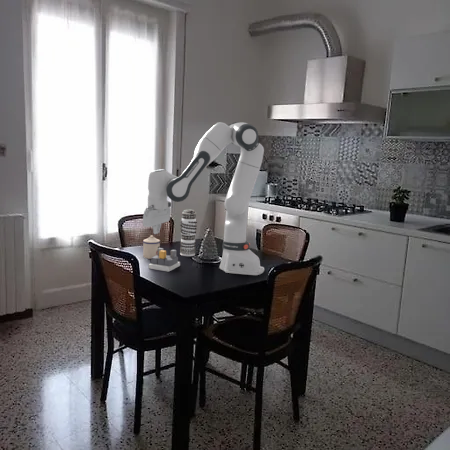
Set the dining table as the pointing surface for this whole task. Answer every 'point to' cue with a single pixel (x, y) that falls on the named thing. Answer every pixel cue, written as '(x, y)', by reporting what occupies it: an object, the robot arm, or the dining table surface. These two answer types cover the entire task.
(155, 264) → the slab with raised knobs
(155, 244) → the teacup with lid
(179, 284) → the dining table surface
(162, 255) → the breaker handle
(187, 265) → the dining table surface
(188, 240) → the decorative candle
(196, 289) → the dining table surface
